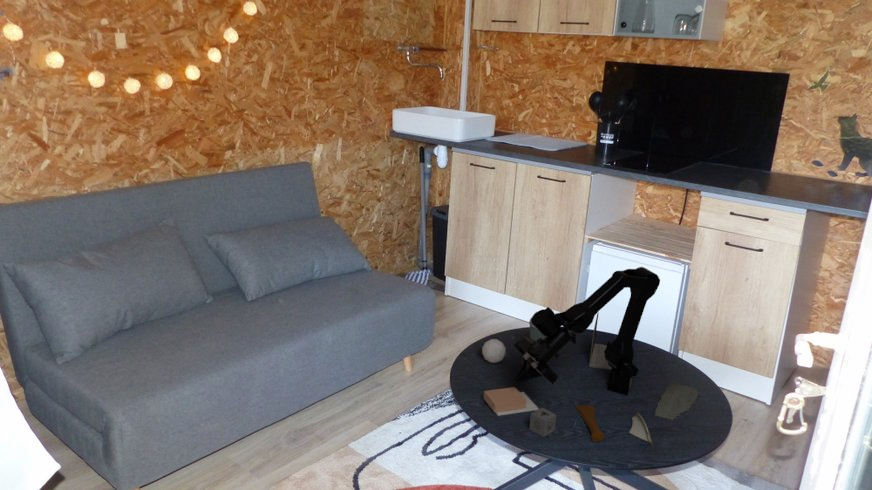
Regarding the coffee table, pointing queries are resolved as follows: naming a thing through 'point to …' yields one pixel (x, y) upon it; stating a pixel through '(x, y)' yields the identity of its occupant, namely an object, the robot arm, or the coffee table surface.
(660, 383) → the coffee table surface
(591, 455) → the coffee table surface
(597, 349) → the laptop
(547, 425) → the dice cube
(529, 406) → the mat
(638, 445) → the coffee table surface
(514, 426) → the coffee table surface
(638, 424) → the ceramic fragment
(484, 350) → the geometric ball
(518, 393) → the tile
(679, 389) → the stone slab
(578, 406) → the primitive tool
